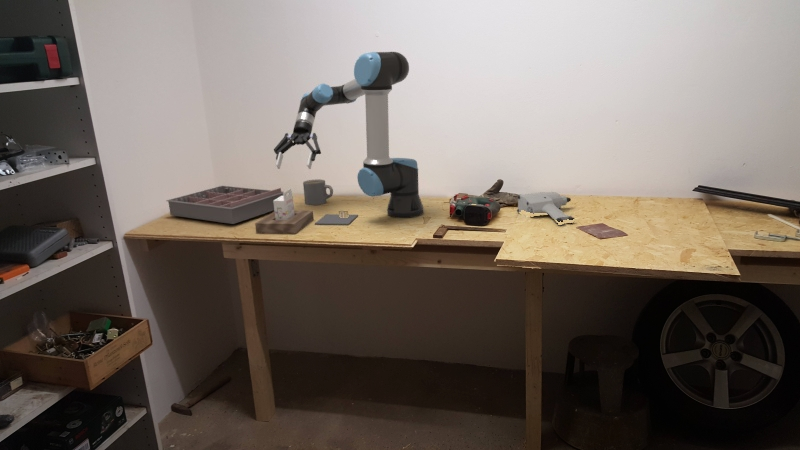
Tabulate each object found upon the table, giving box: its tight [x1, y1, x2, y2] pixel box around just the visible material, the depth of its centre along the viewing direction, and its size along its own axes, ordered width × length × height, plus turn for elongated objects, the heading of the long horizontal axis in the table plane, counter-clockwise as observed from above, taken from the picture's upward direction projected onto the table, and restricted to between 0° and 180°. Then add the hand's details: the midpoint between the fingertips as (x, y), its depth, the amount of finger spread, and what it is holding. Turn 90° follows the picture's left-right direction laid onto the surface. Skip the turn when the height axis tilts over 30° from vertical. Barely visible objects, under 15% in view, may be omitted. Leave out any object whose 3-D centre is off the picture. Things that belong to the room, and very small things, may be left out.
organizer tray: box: [165, 185, 285, 225], centre depth 257 cm, size 32×40×10 cm
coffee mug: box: [302, 178, 334, 206], centre depth 268 cm, size 13×10×10 cm
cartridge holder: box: [254, 209, 314, 235], centre depth 233 cm, size 16×20×4 cm
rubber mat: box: [314, 213, 359, 226], centre depth 239 cm, size 14×14×1 cm
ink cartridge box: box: [273, 188, 295, 220], centre depth 231 cm, size 9×5×15 cm, turn 168°
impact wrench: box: [516, 191, 575, 222], centre depth 230 cm, size 8×23×25 cm
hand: (293, 167), depth 241 cm, fingers open, 13 cm apart
